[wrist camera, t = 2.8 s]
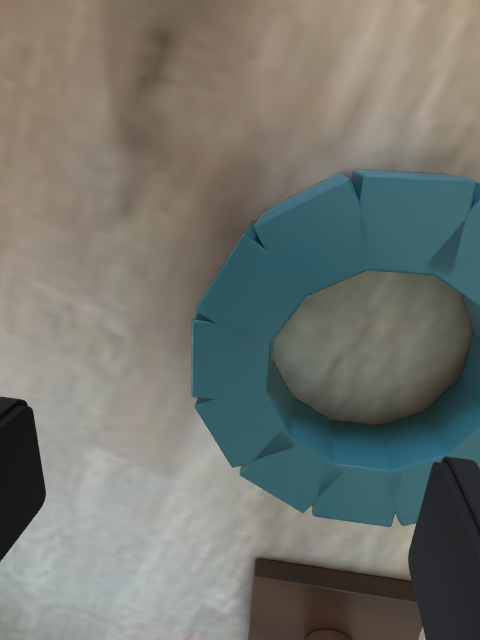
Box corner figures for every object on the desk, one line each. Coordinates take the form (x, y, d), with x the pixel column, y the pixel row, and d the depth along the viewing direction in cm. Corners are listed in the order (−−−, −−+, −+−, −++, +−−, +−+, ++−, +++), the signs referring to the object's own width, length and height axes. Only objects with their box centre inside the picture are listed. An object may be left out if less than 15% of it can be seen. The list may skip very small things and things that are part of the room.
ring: (209, 161, 14) (190, 164, 12) (608, 182, 13) (679, 191, 10) (204, 455, 19) (191, 500, 16) (495, 492, 17) (526, 547, 15)
